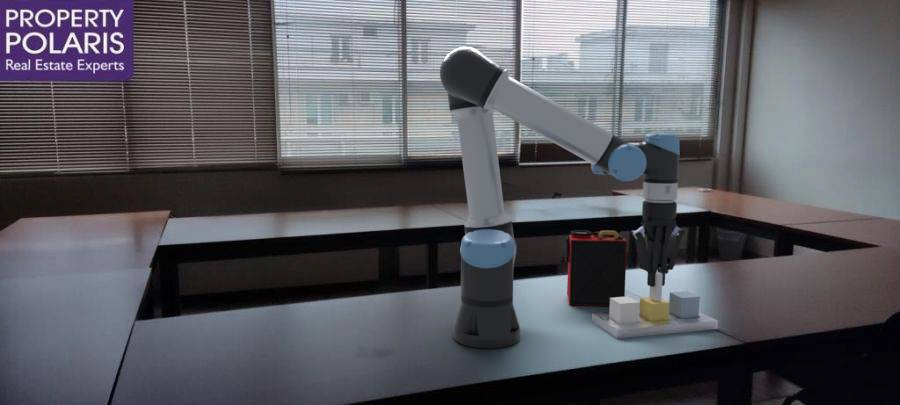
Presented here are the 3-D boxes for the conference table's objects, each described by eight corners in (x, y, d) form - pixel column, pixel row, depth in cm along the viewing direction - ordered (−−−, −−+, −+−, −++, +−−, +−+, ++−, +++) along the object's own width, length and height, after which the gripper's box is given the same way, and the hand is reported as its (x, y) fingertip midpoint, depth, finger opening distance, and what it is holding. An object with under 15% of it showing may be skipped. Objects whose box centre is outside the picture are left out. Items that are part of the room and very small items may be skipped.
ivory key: (619, 324, 137) (620, 303, 137) (609, 318, 142) (610, 297, 141) (638, 323, 139) (639, 302, 138) (627, 316, 143) (628, 296, 143)
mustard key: (650, 324, 139) (651, 303, 139) (639, 318, 144) (640, 298, 143) (668, 323, 141) (669, 302, 140) (656, 316, 145) (657, 296, 144)
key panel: (617, 338, 134) (617, 329, 133) (591, 321, 145) (592, 313, 145) (717, 329, 140) (718, 320, 139) (685, 313, 151) (686, 305, 151)
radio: (619, 296, 166) (622, 225, 163) (626, 307, 156) (629, 232, 153) (561, 295, 167) (563, 224, 165) (565, 306, 157) (567, 231, 155)
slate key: (680, 318, 141) (681, 298, 141) (668, 312, 146) (669, 292, 145) (698, 317, 142) (699, 296, 142) (686, 310, 147) (687, 291, 146)
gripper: (643, 203, 133) (639, 306, 136) (694, 201, 136) (689, 301, 139) (625, 199, 140) (622, 296, 144) (674, 197, 144) (670, 292, 147)
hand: (655, 299), depth 142 cm, fingers closed
